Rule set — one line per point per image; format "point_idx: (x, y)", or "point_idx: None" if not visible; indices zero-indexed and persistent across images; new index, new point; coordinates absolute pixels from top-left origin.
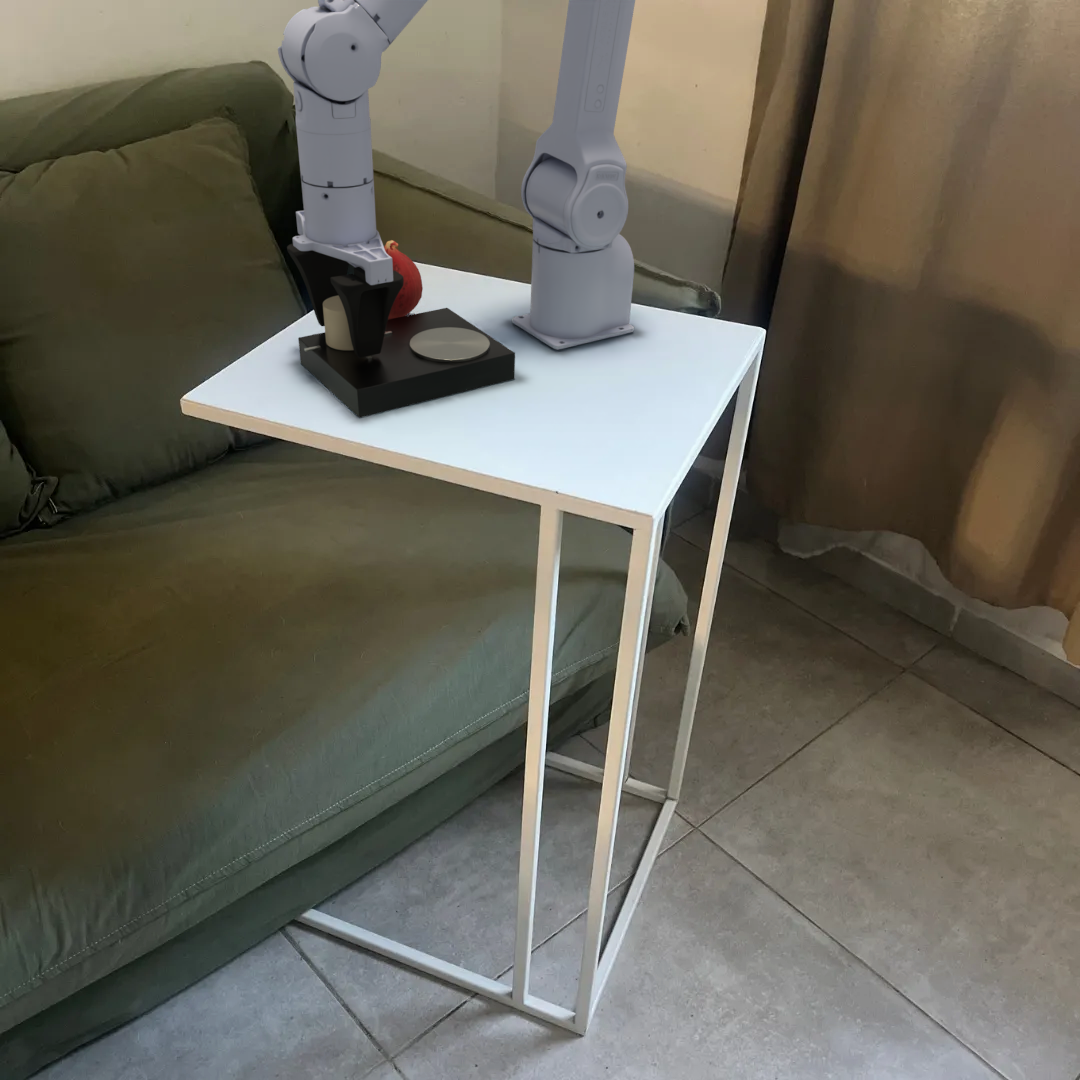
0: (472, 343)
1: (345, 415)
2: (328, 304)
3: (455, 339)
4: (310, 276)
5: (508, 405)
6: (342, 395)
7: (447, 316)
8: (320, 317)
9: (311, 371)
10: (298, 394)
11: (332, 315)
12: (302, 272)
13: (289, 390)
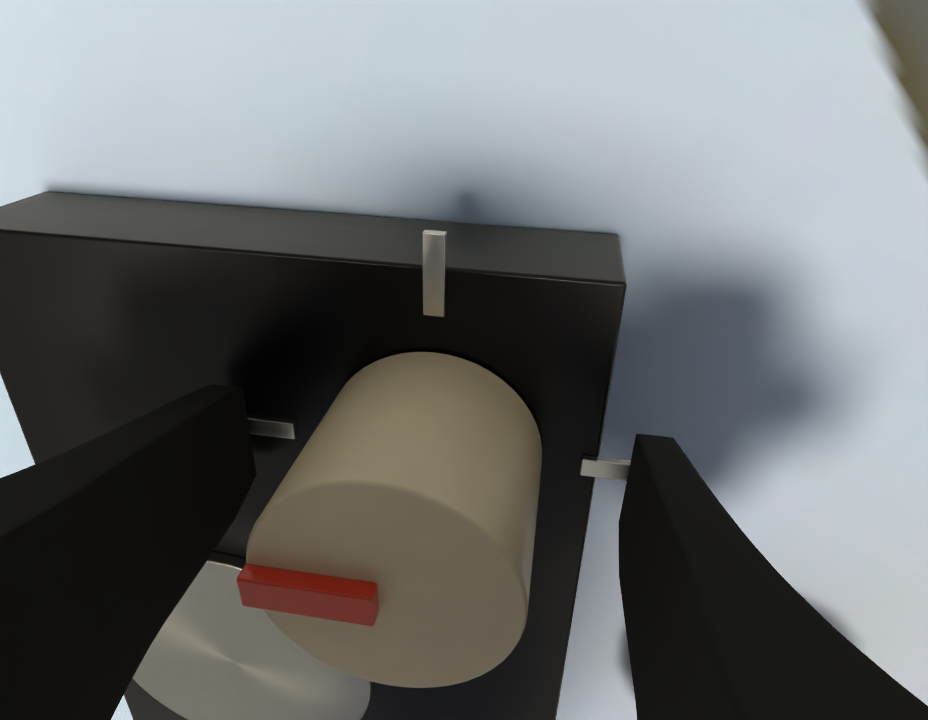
0: (205, 696)
1: (81, 158)
2: (409, 520)
3: (254, 685)
4: (701, 659)
5: None
6: (161, 210)
7: None
8: (640, 462)
9: (489, 228)
10: (327, 73)
11: (317, 466)
12: (789, 662)
13: (384, 54)
